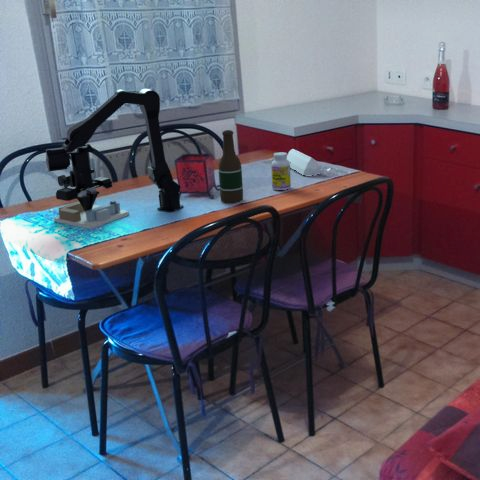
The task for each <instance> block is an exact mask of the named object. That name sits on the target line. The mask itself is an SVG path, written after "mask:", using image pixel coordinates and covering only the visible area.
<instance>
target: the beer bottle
mask: <svg viewBox="0 0 480 480" xmlns="http://www.w3.org/2000/svg"><path fill="white" fill-rule="evenodd" d="M221 135H222V138H223V139H222V140H223V141H222V150H223V151H222V156H221V158H220V159H219V162H218V181H219V183H218V184H219V194H220V195H219V196H220V201H221V202H222V203H224V204H236V203H237V202H238V203H241V202H242V201H243V200H244V187H243V171H242V163H241V160H240V158H239V157H238V155H237V154H236V150H235V143H234V137H233V135H234V131H233V130H232V129H231V130H230V129H229V130H227V129H226V130H224V131H222V133H221ZM241 200H242V201H241ZM240 201H241V202H240Z"/></svg>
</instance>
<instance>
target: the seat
mask: <svg viewBox="0 0 480 480" xmlns="http://www.w3.org/2000/svg"><path fill="white" fill-rule="evenodd" d="M100 206H101V205H97V204H93V207H92V209H94V208H97V207H100ZM95 213H96V220H94V221H88V220H87V218H86V213H85V211H84V209H83V207H82V205H81V204H80V202H79V201H75V202H73V203H69V204H66V205H63V206H59V207H58V216H56V217H54V218H53V221H57V222H56V223H59V222H60V224H64V225H68V226H69V225H70V226H74V227H79V228H83V229H88V230H91V229H94V228H97V227H101V226H103V225H105V224H108V223H110V222H114V221H116V220H118V219H122V218H125V217H126V216H129V215H130V210H125V209H120V212H118V213H115V214H112V215H110V212H109V209H102V210H99V211H96V212H95Z"/></svg>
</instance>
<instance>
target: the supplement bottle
mask: <svg viewBox="0 0 480 480" xmlns="http://www.w3.org/2000/svg"><path fill="white" fill-rule="evenodd" d="M287 155H288V153H287V152H283V151H281V152H280V151H279V152H274V153H273V160H272V162H271V165H270V166H271V186H272V187H271V188H272V190H273V189H274V191H276V190H285V191H288V190H290V189H291V188H292V187H291V185H292V183H291V169H290V162H289V161H288V160H287ZM287 189H288V190H287Z"/></svg>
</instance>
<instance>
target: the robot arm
mask: <svg viewBox="0 0 480 480" xmlns="http://www.w3.org/2000/svg"><path fill="white" fill-rule="evenodd" d="M125 104H130V105H131V104H132V105H138V106H139V109H140V112H141V114H142V116H143V118H144V121H145V127H146V132H147V138H148V144H149V150H150V155H151V156H150V157H151V165H150V166H147V172H148V179H149V180H150V181H151V182H152V184H154V185H155V186H156V187H157V188H158V202H159V206H158V207H157V209H156V210H159V211H164V212H170V213H171V212H175V211H177V210H179V209H182V208H184V205H182V204H181V200H180V199H181V198H180V192H181V191H180V190H181V185H179V184H178V182H176V181H175V180H174V177H173V174H172V171H171V169H170V167H169V165H168V163H167V160H166V157H165V156H166V155H165V150H164V143H163V137H162V131H161V126H160V120H159V119H160V118H159V115H160V110H161V97H160V94H159V93H158V92H156V90H152V89H149V88H143V89H140V91H139V90H138V91H137V90H124V89H117V90H116V91H115V92H114V94H113V95H112V96H110V97H109V98H108V99H107V100H106V101H105V102H104V103H102V104H101V105H100V106H99V107H98V108H97V109H96V110H94V112H92V113H91V114H90V115H89V116H88V117H86V118H85V119H82V120H80V121H79V122H76V123H75V124H73V125H72V126H70V127H69V128H68V129H67V131H66V138H65V141H64V142H63V144H62V145H61V147H58V148H57V147H56V148H47V149H45V163H46V168H47V171H48V172H56V171H57V172H58V171H62V170H63V171H64V170H68V168H69V167H70V166H71V167H72V170H69V175H68V176H67V175H65V174H62V175H59V176H57V183H58V186H59V187H63V188H59V189H57V190H56V192H55V197H56V200H61V201H66V202H69V201H73V200H78V201H79V202H80V204H81V205H82V207H83V209H84V211H85V213H86V211H88V210H91V209H92V207H93V205H95V202H96V199H97V197H98V195H99V194H100V191H98V190H97V188H100V187H103V188H104V189H105V190H107V189H109V188H113V181H112V180H111V178H109V177H103V176H100V177H99V176H98V177H96V178H93V174H94V173H95V168H92V164H91V155H90V153H93V152H96V148H94V147H93V146H92V145H91V144H90V143H89V141H90V140H91V138H92V137H93V136H94V134H95V132H96V131H97V129H98V128H99V127H100V126H101V125H102V124H103V123H104V122H106V121H107V120H109V118H110V117H112V116H113V115H114V114H115V113H116V112H117V111H118V110H119V109H120V108H122V107H123V106H124V105H125ZM80 189H82V190H80ZM78 201H77V202H78Z"/></svg>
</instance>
